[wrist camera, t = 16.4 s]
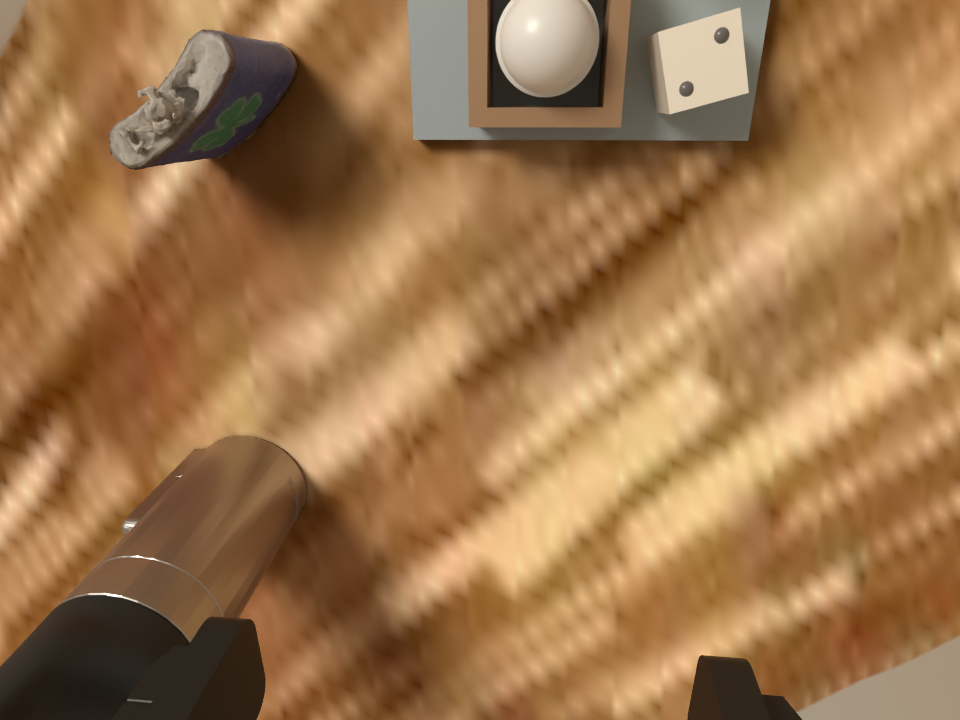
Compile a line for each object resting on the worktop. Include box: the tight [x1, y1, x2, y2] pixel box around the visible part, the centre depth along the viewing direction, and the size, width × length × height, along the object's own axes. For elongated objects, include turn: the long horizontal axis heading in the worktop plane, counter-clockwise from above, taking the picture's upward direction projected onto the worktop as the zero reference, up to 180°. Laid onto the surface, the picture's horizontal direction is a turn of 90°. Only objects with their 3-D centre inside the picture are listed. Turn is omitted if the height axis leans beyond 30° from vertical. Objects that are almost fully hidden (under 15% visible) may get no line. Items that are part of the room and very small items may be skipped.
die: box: [646, 8, 749, 114], centre depth 33 cm, size 4×4×4 cm
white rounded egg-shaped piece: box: [496, 0, 599, 97], centre depth 32 cm, size 5×5×6 cm
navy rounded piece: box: [109, 30, 298, 170], centre depth 35 cm, size 9×3×11 cm, turn 130°
